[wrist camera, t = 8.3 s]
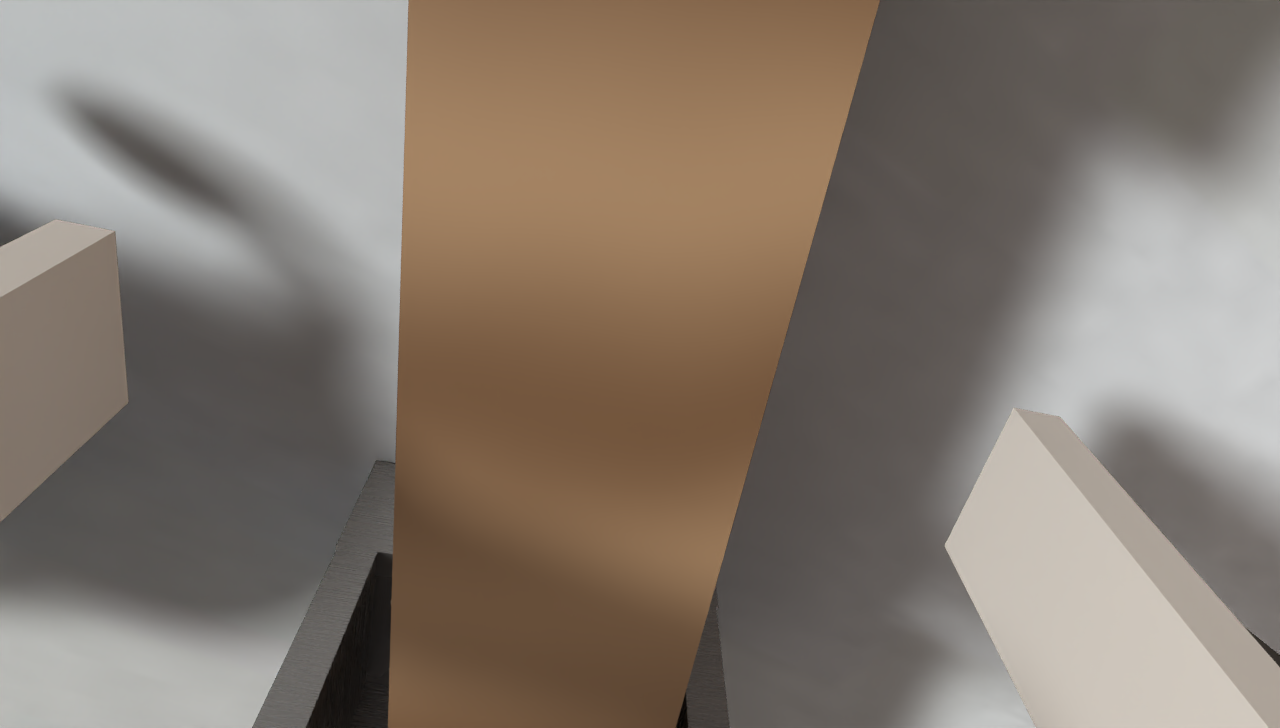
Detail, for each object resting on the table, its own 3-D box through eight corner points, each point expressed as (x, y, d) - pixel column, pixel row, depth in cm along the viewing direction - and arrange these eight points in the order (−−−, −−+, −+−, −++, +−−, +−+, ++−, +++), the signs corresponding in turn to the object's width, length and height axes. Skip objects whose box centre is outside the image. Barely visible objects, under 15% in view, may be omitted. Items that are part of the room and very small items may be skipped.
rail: (635, 671, 19) (634, 872, 15) (438, 649, 19) (384, 849, 15) (891, -415, 10) (1057, -633, 6) (516, -499, 10) (431, -791, 6)
